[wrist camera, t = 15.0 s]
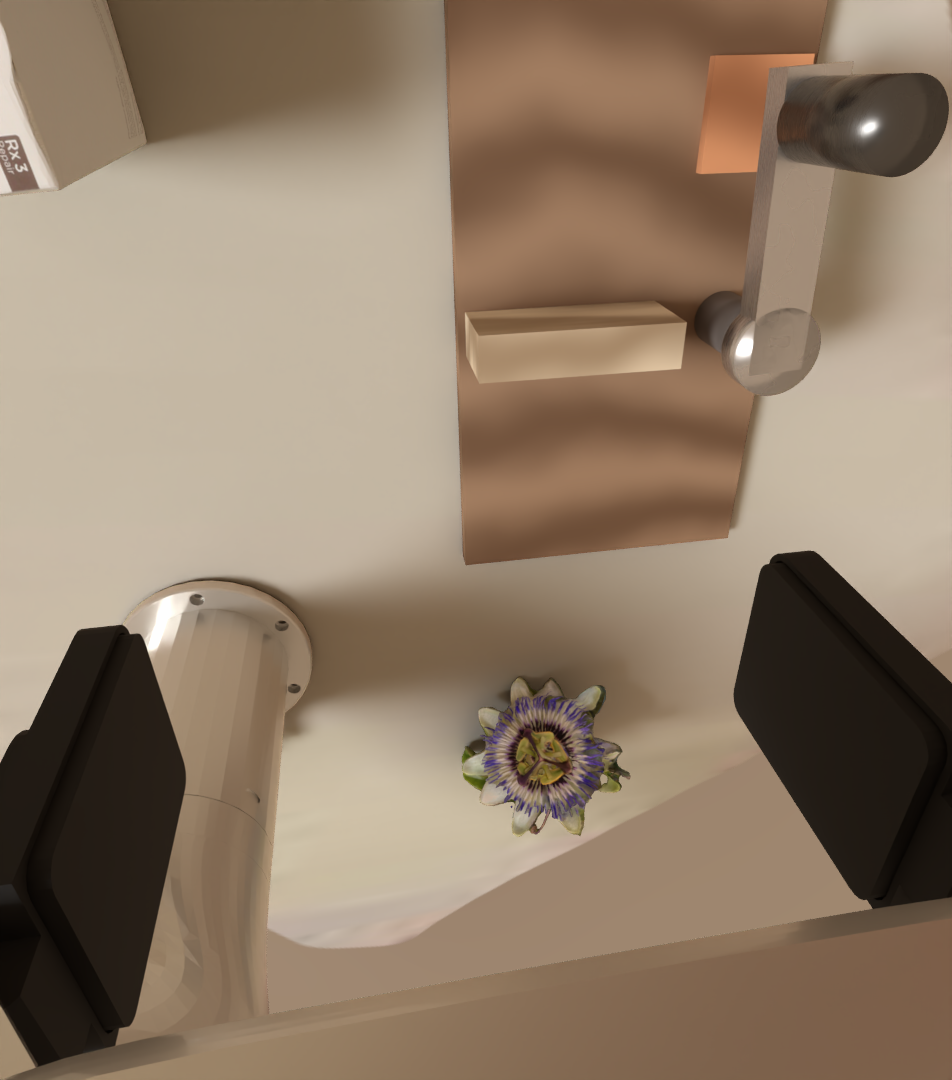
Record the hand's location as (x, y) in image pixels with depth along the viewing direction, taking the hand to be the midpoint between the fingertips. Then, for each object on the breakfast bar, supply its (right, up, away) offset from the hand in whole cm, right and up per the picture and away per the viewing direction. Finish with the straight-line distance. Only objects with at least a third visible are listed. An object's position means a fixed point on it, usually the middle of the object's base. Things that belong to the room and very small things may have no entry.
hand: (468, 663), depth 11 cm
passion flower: (+4, -12, +47) cm, 49 cm away
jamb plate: (+8, +15, +31) cm, 35 cm away
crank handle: (+14, +16, +24) cm, 32 cm away
